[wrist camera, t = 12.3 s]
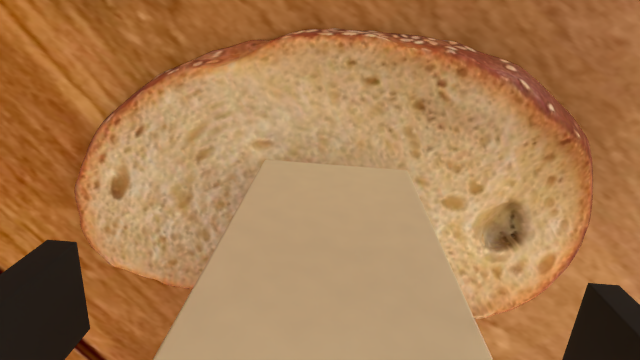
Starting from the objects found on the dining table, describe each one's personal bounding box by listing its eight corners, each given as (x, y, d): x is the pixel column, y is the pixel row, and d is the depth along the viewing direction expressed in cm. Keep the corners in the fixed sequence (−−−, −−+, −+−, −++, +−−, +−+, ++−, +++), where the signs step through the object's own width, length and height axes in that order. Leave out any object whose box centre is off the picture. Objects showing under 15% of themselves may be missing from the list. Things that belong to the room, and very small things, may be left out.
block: (264, 158, 15) (131, 392, 5) (407, 169, 15) (526, 427, 5) (262, 280, 16) (158, 617, 7) (390, 291, 16) (456, 647, 7)
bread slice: (53, 192, 19) (-11, 230, 16) (329, -157, 14) (326, -215, 11) (333, 408, 23) (332, 477, 20) (629, 192, 18) (699, 233, 15)
